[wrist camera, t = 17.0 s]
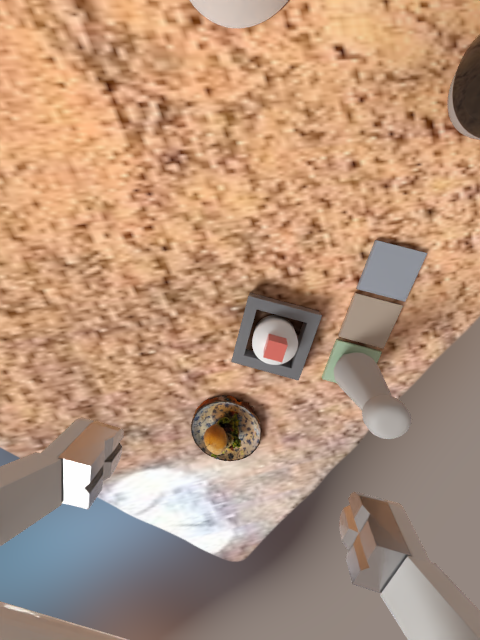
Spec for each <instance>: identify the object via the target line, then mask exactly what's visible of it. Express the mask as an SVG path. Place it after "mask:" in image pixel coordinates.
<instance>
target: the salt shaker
mask: <svg viewBox="0 0 480 640" xmlns="http://www.w3.org/2000/svg"><path fill="white" fill-rule="evenodd" d="M334 377H335V381H336V382H337V384H338V385H339V386H340V387H341V389H342V390H343V391H344V392H345V393H346V394H347V395H348V396H349V397H350V398H351V399H352V400H353V401H354V402H355V404H356V405H357V406H358V407H359V408H360V409H361V410H362V416H363V421H364V423H365V425H366V426H367V427H368V429H369V430H370V431H371V432H372V433H373V434H374V435H376V436H378V437H380V438H385V439H393V438H397V437H400V436H401V435H403V434H404V433H405V432H407V431H408V428H409V427H410V425H411V414H410V412H409V411H408V409H407V408H406V406H405V405H404V404H403V403H402V402H401V401H400V400H398V399H396V398H395V397H393V396H392V395H391V393H390V391H389V389H388V386H387V384H386V382H385V380H384V378H383V375H382V373H381V371H380V369H379V367H378V365H377V364H376V362H375V361H374V359H373V358H371V357H369V356H367V355H366V354H364V353H357V352H355V353H349V354H343V355H342V356H341V358H340V359H339V360H338V361H337V363H336V365H335V368H334Z"/></svg>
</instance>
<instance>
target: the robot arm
mask: <svg viewBox="0 0 480 640" xmlns="http://www.w3.org/2000/svg"><path fill="white" fill-rule="evenodd" d="M190 2H191V3H192V4H193V6H194V7H195V8H196V9H197V10H198V11H199V12H200V13H201V14H202V15H203V16H204V17H206V18H207V19H209V20H210V21H212V22H214V23H216V24H218V25H221V26H224V27H228V28H246V27H251V26H254V25H257V24H259V23H262V22H264V21H265V20H267V19H269V18H270V17H272V16H273V15H274V14H276V13H277V12H278V11H279V10H280V9H281V8H282V7H283V6H284V5H285V4H286V3H287V2H288V0H190ZM122 438H123V429H121V428H117V427H114V426H111V425H108V424H104V423H101V422H98V421H94V420H90V419H87V418H83V417H81V418H78V419H76V420H75V421H74V422H73V423H72V424H71V425H70V426H69V427H68V428H67V429H66V430H65V431H64V432H62V433H61V434H60V435H59V436H58V437H57V438H56V439H55V440H54V441H53V442H52V443H51V444H50V445H49V446H48V447H47V448H45V449H44V450H43V451H42V452H41V453H37V452H35V453H33V454H30V455H28V456H26V457H23V458H21V459H18V460H16V461H14V462H11V463H9V464H6V465H4V466H1V467H0V546H1V545H3V544H4V543H6V542H7V541H9V540H10V539H12V538H13V537H15V536H16V535H18V534H19V533H21V532H22V531H23V530H25V529H26V528H28V527H29V526H31V525H32V524H34V523H35V522H36V521H38V520H40V519H41V518H43V517H44V516H46V515H47V514H49V513H50V512H52V511H53V510H54V509H56V508H57V507H59V506H60V505H61V504H62V503H65V504H69V505H73V506H78V507H81V508H85V509H89V508H90V506H91V505H92V503H93V502H94V500H95V499H96V497H97V496H98V494H99V493H100V491H101V490H102V484H103V481H104V480H105V479H107V478H109V477H110V476H111V475H112V473H113V472H114V470H115V469H116V466H117V464H118V462H119V460H120V456H121V453H122V446H121V444H120V443H119V442H120V441H121V440H122ZM348 500H349V503H350V505H349V506H347V507H345V508H343V510H342V513H341V515H340V522H339V527H340V534H341V539H342V542H343V543H344V545H345V546H346V548H347V549H348V550H349V551H348V554H347V556H346V560H347V564H348V568H349V572H350V577H351V580H352V584H354V585H356V586H360V587H363V588H366V589H369V590H372V591H375V592H379V593H381V594H380V595H381V597H382V599H383V600H384V602H385V604H386V605H387V607H388V608H389V610H390V612H391V613H392V615H393V617H394V618H395V620H396V621H397V623H398V624H399V626H400V628H401V629H402V631H403V633H404V634H405V636H406V638H407V639H408V640H480V610H479V609H478V608H477V607H476V606H475V605H474V604H473V603H472V602H471V601H470V600H469V599H468V598H467V597H466V595H465V594H464V593H463V592H462V591H461V590H460V589H459V588H458V587H457V586H456V585H455V584H454V583H453V582H452V580H451V579H450V578H449V577H448V576H447V575H446V574H445V573H444V572H443V571H442V570H441V569H440V568H439V567H438V565H437V564H436V563H432V562H430V560H429V558H428V556H427V554H426V552H425V550H424V548H423V546H422V544H421V542H420V540H419V538H418V536H417V534H416V532H415V530H414V528H413V526H412V524H411V522H410V520H409V518H408V516H407V514H406V512H405V510H404V508H403V507H402V506H401V504H399V503H395V502H392V501H388V500H383V499H381V498H377V497H373V496H369V495H365V494H361V493H358V492H354V493H352V494H351V495H350V497H349V499H348ZM0 640H128V639H124V638H121V637H117V636H114V635H111V634H108V633H104V632H101V631H97V630H94V629H91V628H87V627H84V626H80V625H77V624H74V623H71V622H67V621H64V620H61V619H57V618H54V617H51V616H47V615H44V614H40V613H37V612H34V611H30V610H27V609H24V608H20V607H17V606H13V605H10V604H7V603H4V602H0Z"/></svg>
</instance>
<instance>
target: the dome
mask: <svg viewBox="0 0 480 640" xmlns="http://www.w3.org/2000/svg"><path fill="white" fill-rule="evenodd" d="M252 347H253V351H254V353H255V355H256V356H257V357H258V358H259V359H260V360H261V361H263V362H265V363H267V364H271V365H280V364H283V363H286V362H288V361H289V360H290V359H292V358H293V356H294V355H295V353H296V351H297V348H298V339H297V336H296V333H295V330H294V327H293V325H292V323H291V322H290V321H289V320H288V319H286V318H284V317H282V316H278V315H270V316H267V317H264V318H263V319H261V320H260V321H259V322H258V323H257V325H256V327H255V329H254V334H253V340H252Z"/></svg>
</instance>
